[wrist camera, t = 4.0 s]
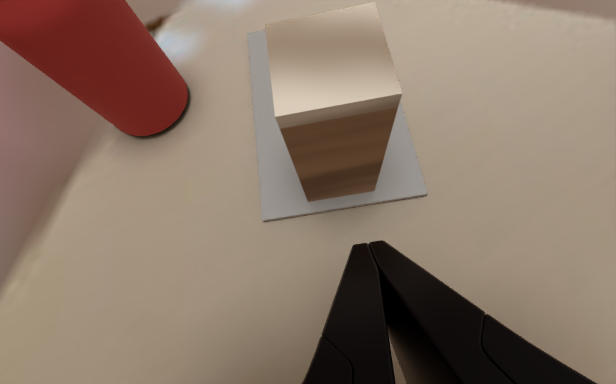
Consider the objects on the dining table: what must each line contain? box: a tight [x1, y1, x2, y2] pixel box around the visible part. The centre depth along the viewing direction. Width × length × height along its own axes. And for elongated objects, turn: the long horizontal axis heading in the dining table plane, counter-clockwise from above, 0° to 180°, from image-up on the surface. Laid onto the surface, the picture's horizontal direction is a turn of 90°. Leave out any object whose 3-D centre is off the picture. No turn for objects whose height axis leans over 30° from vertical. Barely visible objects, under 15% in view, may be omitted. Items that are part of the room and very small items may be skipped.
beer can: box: [0, 0, 188, 136], centre depth 19 cm, size 7×7×12 cm
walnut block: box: [265, 2, 402, 202], centre depth 16 cm, size 4×4×10 cm
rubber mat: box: [247, 30, 428, 222], centre depth 23 cm, size 17×11×1 cm, turn 8°
